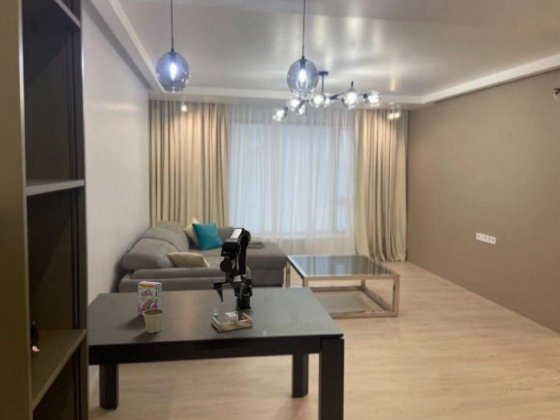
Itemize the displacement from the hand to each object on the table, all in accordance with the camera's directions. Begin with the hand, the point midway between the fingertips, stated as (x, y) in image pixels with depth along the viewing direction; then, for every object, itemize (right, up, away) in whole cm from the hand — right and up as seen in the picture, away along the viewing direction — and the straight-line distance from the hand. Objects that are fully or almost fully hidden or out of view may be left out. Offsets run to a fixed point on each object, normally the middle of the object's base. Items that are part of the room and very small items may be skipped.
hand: (231, 301), depth 199 cm
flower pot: (-34, -12, -6) cm, 37 cm away
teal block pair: (-4, -11, +9) cm, 14 cm away
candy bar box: (-42, -10, +14) cm, 45 cm away
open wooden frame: (0, -11, +1) cm, 11 cm away
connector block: (0, -11, +1) cm, 11 cm away
